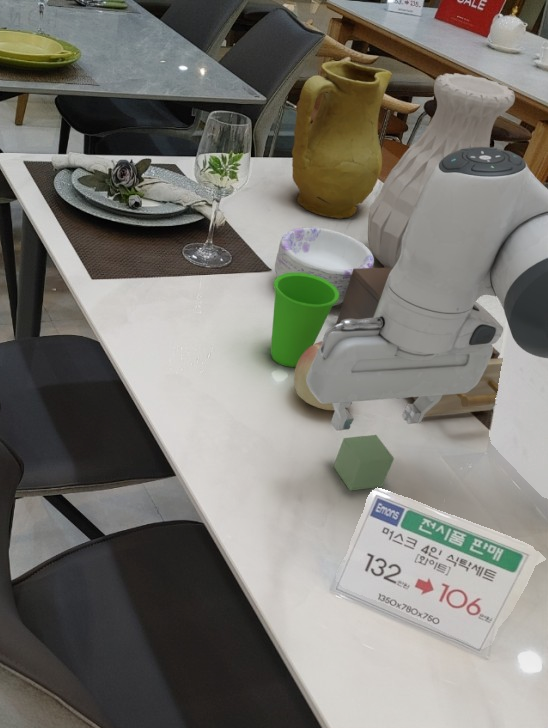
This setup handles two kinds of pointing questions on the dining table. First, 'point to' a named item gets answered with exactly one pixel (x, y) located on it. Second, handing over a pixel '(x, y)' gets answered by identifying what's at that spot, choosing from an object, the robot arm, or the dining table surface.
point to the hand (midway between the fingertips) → (375, 423)
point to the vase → (434, 154)
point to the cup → (299, 314)
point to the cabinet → (363, 293)
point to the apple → (301, 376)
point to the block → (363, 462)
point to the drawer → (473, 393)
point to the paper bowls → (322, 256)
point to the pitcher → (338, 138)
